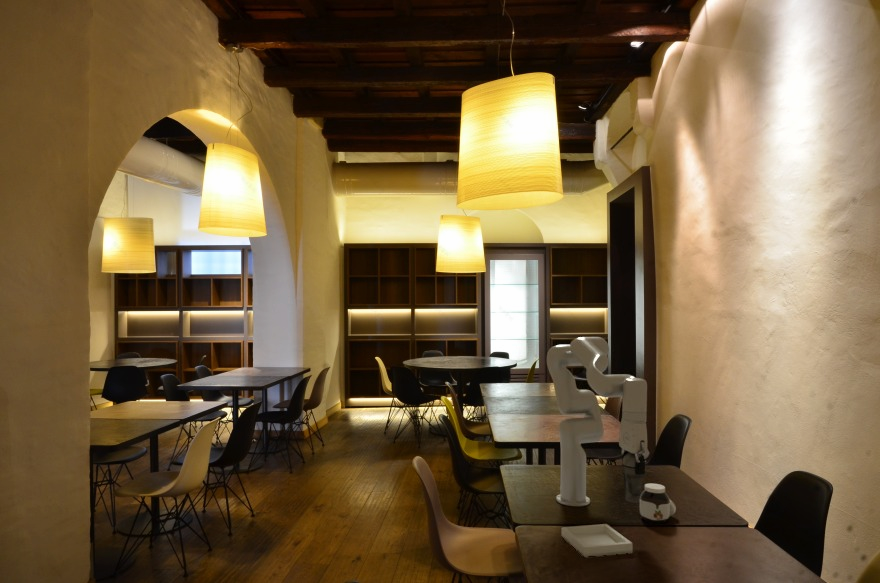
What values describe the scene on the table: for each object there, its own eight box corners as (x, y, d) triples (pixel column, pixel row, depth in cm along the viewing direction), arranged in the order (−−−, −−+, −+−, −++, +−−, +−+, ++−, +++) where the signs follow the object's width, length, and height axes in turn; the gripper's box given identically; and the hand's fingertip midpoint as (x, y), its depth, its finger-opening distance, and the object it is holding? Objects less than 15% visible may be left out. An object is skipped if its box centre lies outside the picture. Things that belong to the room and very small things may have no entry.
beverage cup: (645, 505, 190) (647, 442, 190) (622, 503, 192) (623, 441, 192) (642, 497, 198) (643, 437, 198) (619, 495, 199) (621, 435, 199)
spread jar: (638, 521, 209) (639, 487, 209) (640, 510, 219) (640, 478, 219) (675, 526, 204) (676, 492, 204) (675, 515, 215) (676, 482, 215)
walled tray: (561, 536, 194) (561, 527, 194) (606, 532, 197) (606, 523, 197) (584, 557, 178) (584, 547, 178) (632, 553, 182) (632, 543, 182)
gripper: (610, 411, 202) (609, 463, 202) (638, 422, 185) (637, 479, 185) (630, 410, 204) (629, 462, 204) (660, 421, 187) (658, 478, 187)
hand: (633, 470), depth 195 cm, fingers closed on beverage cup, 7 cm apart
